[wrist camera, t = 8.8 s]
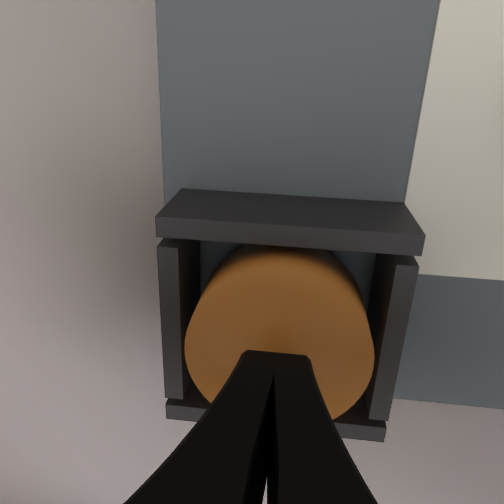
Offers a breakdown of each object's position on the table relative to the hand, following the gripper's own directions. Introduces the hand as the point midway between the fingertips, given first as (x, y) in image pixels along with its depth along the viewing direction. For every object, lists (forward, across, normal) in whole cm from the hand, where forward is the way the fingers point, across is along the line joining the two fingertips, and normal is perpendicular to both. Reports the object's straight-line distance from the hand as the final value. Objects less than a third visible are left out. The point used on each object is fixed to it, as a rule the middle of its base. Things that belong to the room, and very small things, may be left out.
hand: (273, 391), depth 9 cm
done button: (+3, 0, 0) cm, 3 cm away
